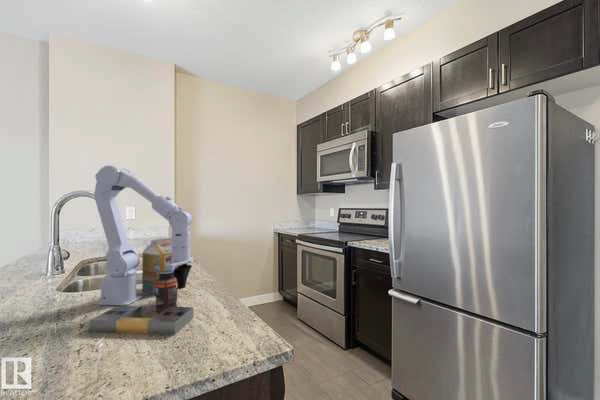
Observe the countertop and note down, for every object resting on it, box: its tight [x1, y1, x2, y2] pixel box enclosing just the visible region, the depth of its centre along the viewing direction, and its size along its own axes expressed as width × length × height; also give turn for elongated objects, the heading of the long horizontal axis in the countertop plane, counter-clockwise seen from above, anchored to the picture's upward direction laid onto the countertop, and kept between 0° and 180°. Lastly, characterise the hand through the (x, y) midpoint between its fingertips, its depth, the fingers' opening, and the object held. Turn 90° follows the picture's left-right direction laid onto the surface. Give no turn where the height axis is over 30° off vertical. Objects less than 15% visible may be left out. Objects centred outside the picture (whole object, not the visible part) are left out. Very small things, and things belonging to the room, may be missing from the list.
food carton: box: [141, 237, 187, 295], centre depth 106 cm, size 11×11×19 cm
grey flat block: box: [88, 305, 194, 335], centre depth 75 cm, size 22×10×3 cm, turn 86°
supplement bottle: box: [155, 271, 178, 313], centre depth 86 cm, size 6×6×11 cm
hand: (180, 287), depth 94 cm, fingers closed
